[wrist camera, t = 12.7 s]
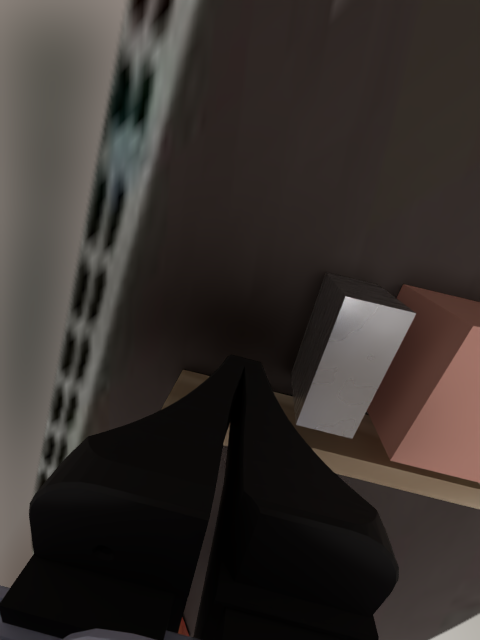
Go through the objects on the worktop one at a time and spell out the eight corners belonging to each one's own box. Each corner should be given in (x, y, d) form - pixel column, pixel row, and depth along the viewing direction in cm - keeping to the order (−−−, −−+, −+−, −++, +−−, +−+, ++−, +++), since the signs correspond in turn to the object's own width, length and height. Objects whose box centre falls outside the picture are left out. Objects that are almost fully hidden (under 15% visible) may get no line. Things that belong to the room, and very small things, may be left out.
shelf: (571, 482, 16) (769, 664, 10) (180, 385, 17) (122, 499, 10) (735, 323, 12) (1269, 458, 6) (208, 200, 12) (141, 194, 6)
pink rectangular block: (425, 401, 15) (490, 485, 11) (354, 384, 15) (390, 460, 11) (485, 303, 13) (602, 356, 8) (402, 283, 13) (473, 325, 8)
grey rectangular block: (333, 383, 16) (352, 438, 12) (290, 373, 16) (295, 424, 12) (376, 283, 13) (416, 313, 9) (325, 271, 13) (345, 296, 10)
